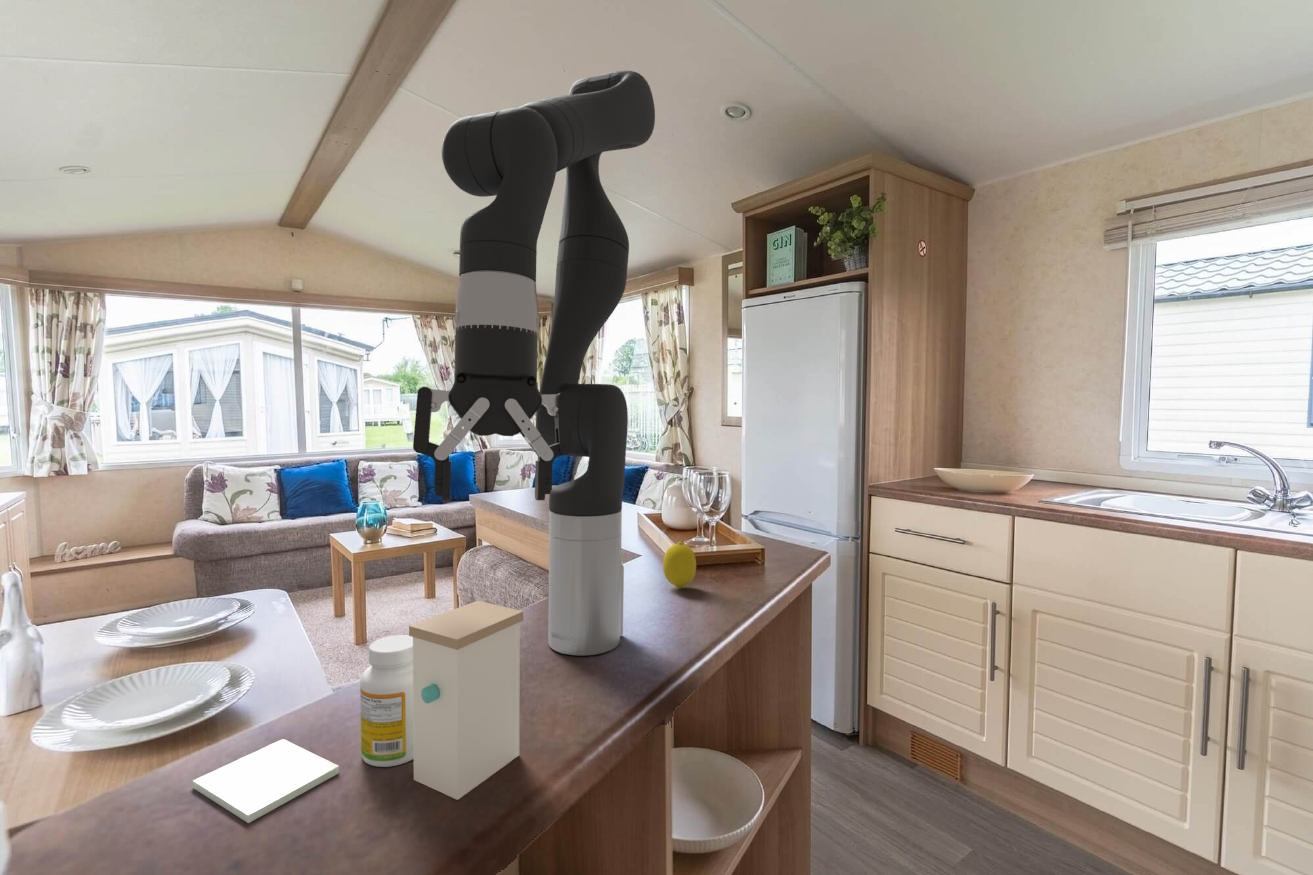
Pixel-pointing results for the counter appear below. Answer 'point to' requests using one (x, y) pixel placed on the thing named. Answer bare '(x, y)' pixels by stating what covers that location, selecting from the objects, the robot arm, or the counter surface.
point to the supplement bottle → (388, 702)
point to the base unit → (465, 696)
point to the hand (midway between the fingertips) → (493, 500)
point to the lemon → (679, 565)
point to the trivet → (265, 779)
